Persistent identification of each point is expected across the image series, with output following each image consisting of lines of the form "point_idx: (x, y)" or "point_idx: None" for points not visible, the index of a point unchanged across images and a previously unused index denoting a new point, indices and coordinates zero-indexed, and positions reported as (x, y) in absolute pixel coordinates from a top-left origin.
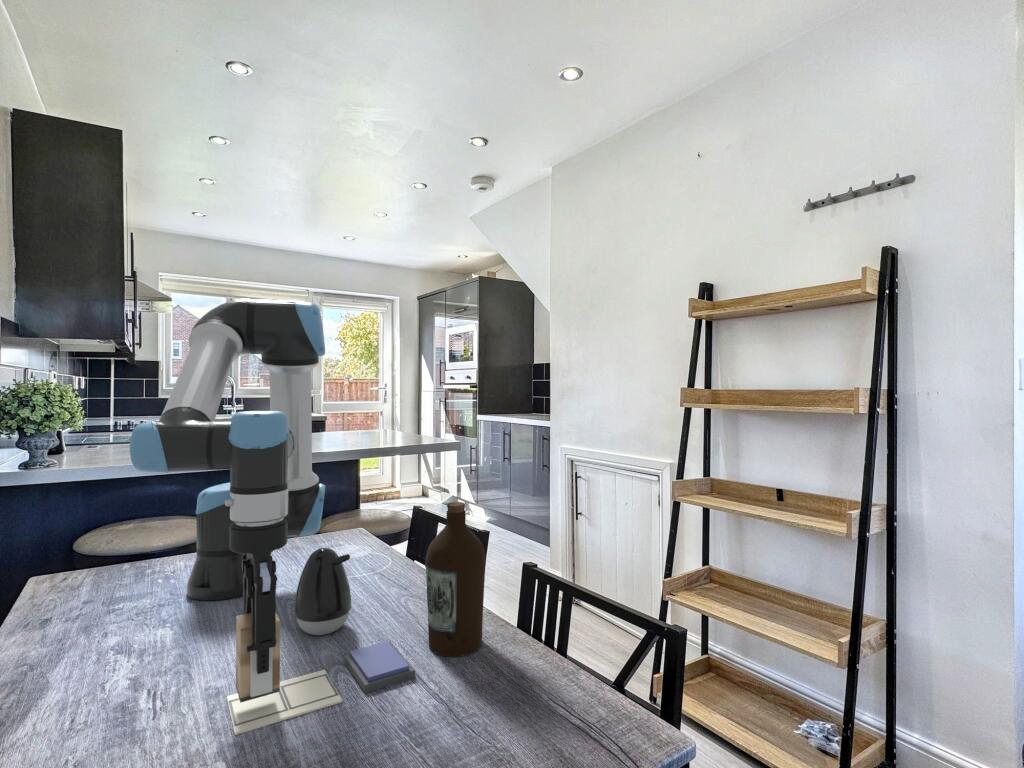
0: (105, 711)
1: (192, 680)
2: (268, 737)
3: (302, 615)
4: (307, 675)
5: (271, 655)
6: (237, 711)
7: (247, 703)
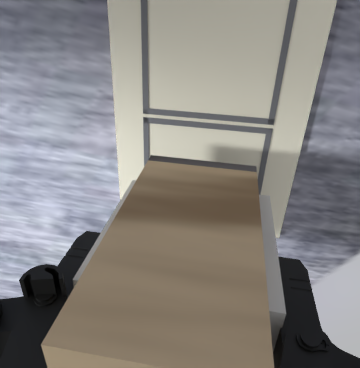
0: None
1: (19, 244)
2: (341, 189)
3: None
4: (117, 25)
5: (278, 278)
6: None
7: None
